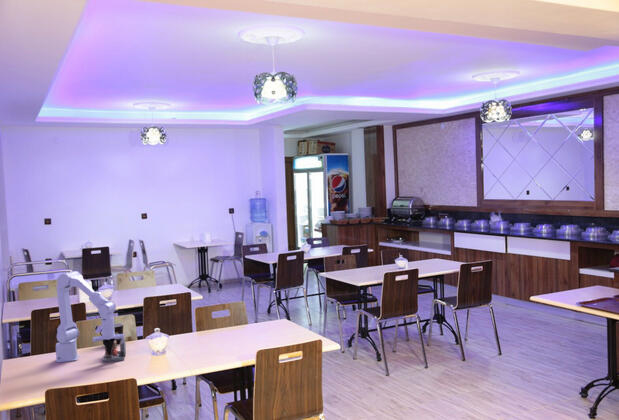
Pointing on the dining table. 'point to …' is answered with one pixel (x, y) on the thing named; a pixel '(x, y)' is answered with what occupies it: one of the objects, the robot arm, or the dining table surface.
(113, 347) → the housing block
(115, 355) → the lever
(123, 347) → the press bed
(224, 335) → the dining table surface
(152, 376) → the dining table surface
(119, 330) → the coffee mug
